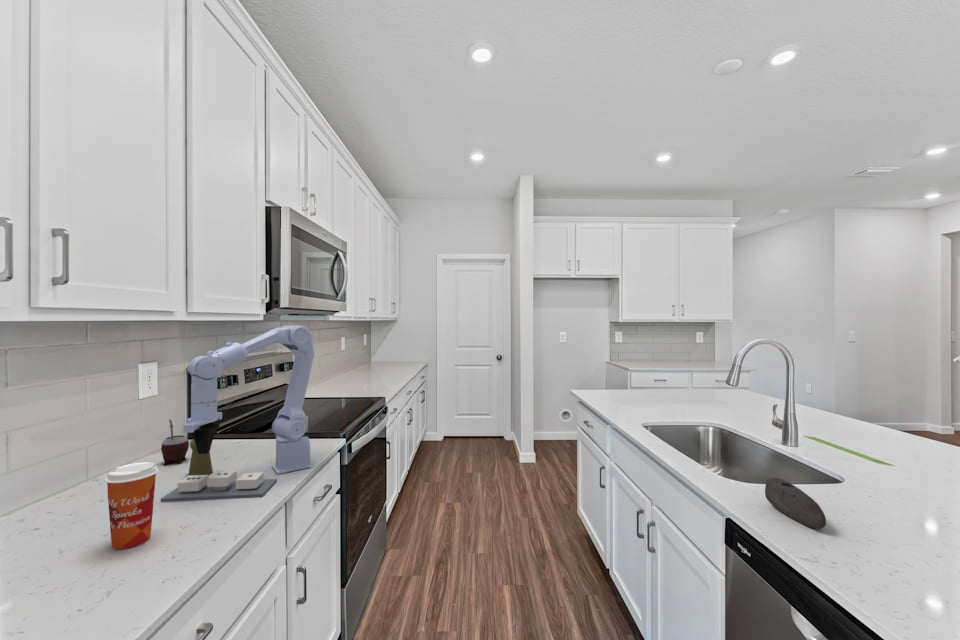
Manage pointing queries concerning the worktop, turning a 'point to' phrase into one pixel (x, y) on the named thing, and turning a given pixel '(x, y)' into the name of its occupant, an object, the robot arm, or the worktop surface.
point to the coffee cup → (131, 503)
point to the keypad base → (220, 492)
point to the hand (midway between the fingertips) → (203, 453)
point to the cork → (199, 462)
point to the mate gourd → (174, 448)
